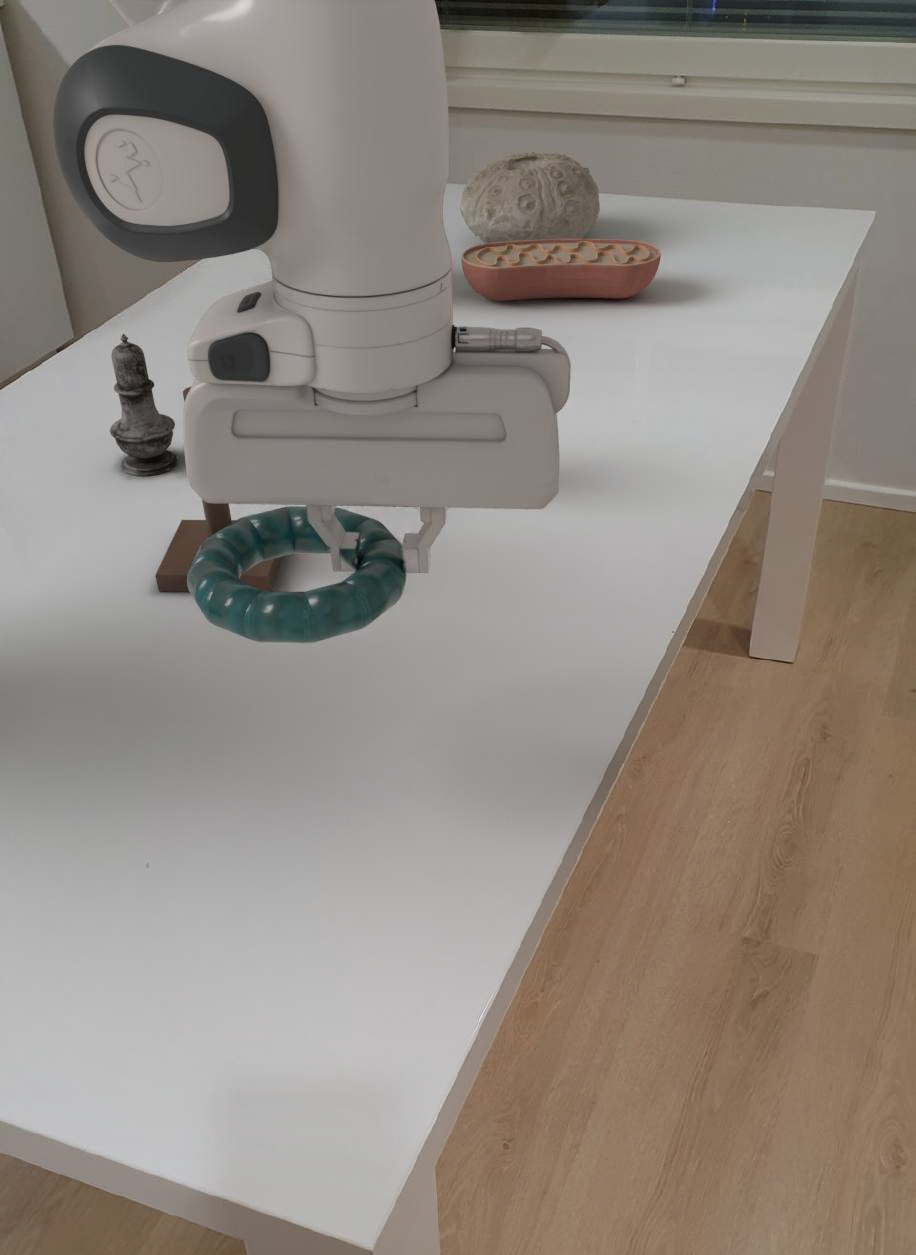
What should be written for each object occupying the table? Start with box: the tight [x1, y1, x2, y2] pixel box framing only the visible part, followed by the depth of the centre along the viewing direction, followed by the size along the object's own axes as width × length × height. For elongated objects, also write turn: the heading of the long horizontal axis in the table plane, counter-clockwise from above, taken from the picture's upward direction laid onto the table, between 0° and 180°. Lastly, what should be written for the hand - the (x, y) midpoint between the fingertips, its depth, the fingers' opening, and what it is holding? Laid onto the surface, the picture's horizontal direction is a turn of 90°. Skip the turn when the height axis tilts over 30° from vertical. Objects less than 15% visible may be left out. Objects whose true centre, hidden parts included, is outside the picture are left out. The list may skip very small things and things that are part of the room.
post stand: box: [155, 385, 283, 593], centre depth 96 cm, size 9×9×14 cm
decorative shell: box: [459, 151, 601, 244], centre depth 157 cm, size 18×18×10 cm
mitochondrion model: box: [461, 238, 662, 302], centre depth 143 cm, size 23×10×5 cm, turn 89°
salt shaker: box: [109, 333, 179, 477], centre depth 111 cm, size 6×6×12 cm
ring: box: [187, 505, 408, 644], centre depth 72 cm, size 13×13×3 cm
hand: (381, 568), depth 71 cm, fingers closed on ring, 3 cm apart
